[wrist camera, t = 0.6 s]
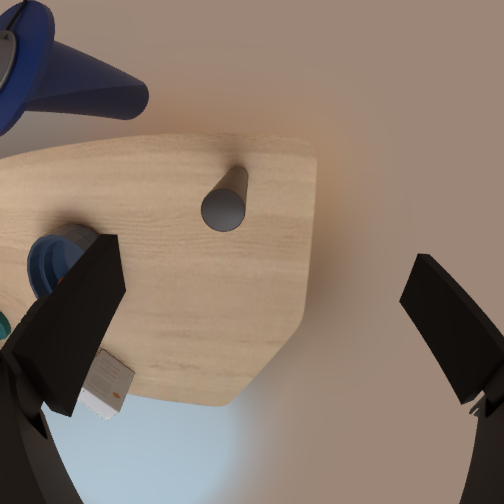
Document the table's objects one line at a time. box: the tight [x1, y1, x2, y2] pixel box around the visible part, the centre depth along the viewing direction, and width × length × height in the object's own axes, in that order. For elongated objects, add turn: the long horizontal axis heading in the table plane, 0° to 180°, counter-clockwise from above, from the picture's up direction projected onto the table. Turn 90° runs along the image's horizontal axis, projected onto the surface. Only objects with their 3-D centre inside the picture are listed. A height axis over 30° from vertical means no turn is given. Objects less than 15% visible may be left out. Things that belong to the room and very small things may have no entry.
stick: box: [201, 166, 248, 232], centre depth 26 cm, size 3×3×20 cm
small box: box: [77, 349, 135, 420], centre depth 42 cm, size 8×6×10 cm
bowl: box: [27, 224, 99, 300], centre depth 37 cm, size 15×15×6 cm
